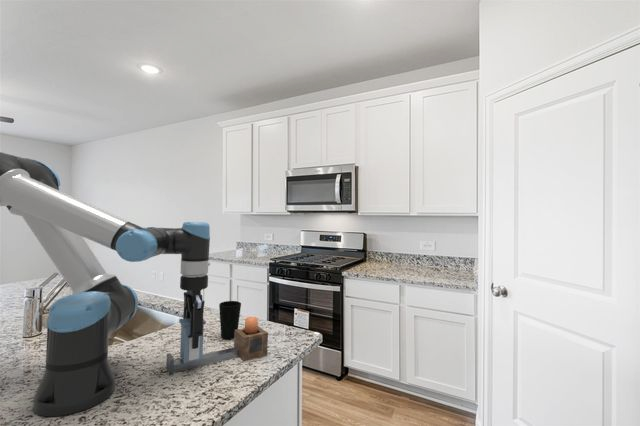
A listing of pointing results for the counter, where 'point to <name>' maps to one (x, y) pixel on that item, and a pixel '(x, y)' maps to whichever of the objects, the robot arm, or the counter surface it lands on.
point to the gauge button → (251, 325)
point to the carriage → (185, 340)
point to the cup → (229, 318)
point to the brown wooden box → (251, 343)
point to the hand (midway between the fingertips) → (191, 355)
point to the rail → (206, 359)
